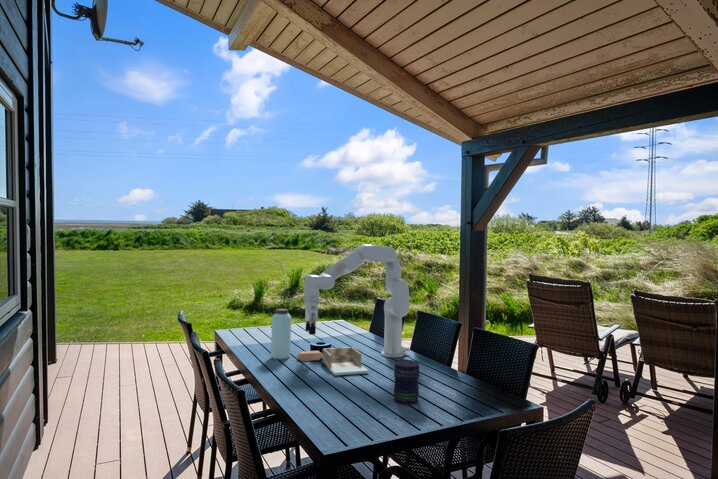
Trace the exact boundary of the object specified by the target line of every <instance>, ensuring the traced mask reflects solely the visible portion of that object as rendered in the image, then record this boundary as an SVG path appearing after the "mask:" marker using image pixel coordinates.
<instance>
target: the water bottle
mask: <svg viewBox="0 0 718 479" xmlns="http://www.w3.org/2000/svg"><path fill="white" fill-rule="evenodd" d="M274 311H275V313H274V314H273V316H271V337H270V338H271V340H270V342H271V344H270V346H271V347H270V356H271V358H272V359H275V360H287V359H288V358H289V357H290V355H291V343H292V342H291V339H292V338H291V336H292V315H291V314H290V313H289V309H287V308H276V309H275V310H274Z"/></svg>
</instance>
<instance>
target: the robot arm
mask: <svg viewBox="0 0 718 479" xmlns="http://www.w3.org/2000/svg"><path fill="white" fill-rule="evenodd" d="M397 256H398V254H397V250H396V249H395V248H394V247H392V246H383V245H374V244H368V243H367V244H366V243H363V244H361V245H358V246H357V247H355V249H353V250H352V251H350V253H348V254H347V255H346V256H345V257H343V258H342V259H340V260H338V261H336V262H335V263H333V264H332V265H330V266H329V267H328V268H326V269H325V270H324V271H322V272H321V273H320V274H319V275H318V274H306V275H305V276H304V286H303V287H304V291H303V302H304V303H305V309H304V311H305V312H304V313H305V314H304V315H305V316H304V318H305V332H308V333H309V336H310V335H316V331H317V330H316V329H317V328H316V327H317V326H316V325H317V323H316V322H318V321H319V308H318V304H319V300H320V299H319V298H320V290H331V289H333V288H334V287H335V284H336V280H337V279H338V278H340V277H341V276H344V275H347V274H351V273H352V272H354V271H355V270H356V269H358V267H360V266H361V265H362V264H364V263H365V262H366V261H369V262H375V263H376V262H377V263H378V262H379V263H382V264H383V266H384V268H385V269H384V270H385V291H386V292H387V293H388V294H389V295H391V296H390V297H388V298H386V299H385V301H384V304H383V312H384V330H383V331H384V333H383V334H384V335H383V336H384V337H383V339H384V340H383V350H382V351H381V352H380V355H381V356H383V357H386V358H402V356H405V352H409V351H410V347H405V346H402V343H403V342H402V339H403V338H402V337H403V335H402V334H403V333H402V332H403V318H404V317H405V316H407V315H408V313H409V311H410V309H409V308H410V289H409V285H408V283H407V281H405V279H403V278H402V267H401V262H400V260H399V258H398V257H397Z"/></svg>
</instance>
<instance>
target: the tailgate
mask: <svg viewBox="0 0 718 479" xmlns="http://www.w3.org/2000/svg"><path fill="white" fill-rule="evenodd" d="M329 371H330V373H331V374H333V376H345V375H360V374H369V370H368V369H367V368H366V367H364V366H363V365H361V366H352V367H337V368H330V370H329Z"/></svg>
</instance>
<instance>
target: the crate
mask: <svg viewBox="0 0 718 479" xmlns="http://www.w3.org/2000/svg"><path fill="white" fill-rule="evenodd" d="M322 355H323V356H322V358H321V361H322V364H324V366H325V367H326V368H327V369H328V370H329V371H330V368H337V367H352V366H362V353H361V352H360V351H359V350H358V349H356V348H355V347H354V346H349V347H348V346H346V347H326V348H322Z"/></svg>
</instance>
